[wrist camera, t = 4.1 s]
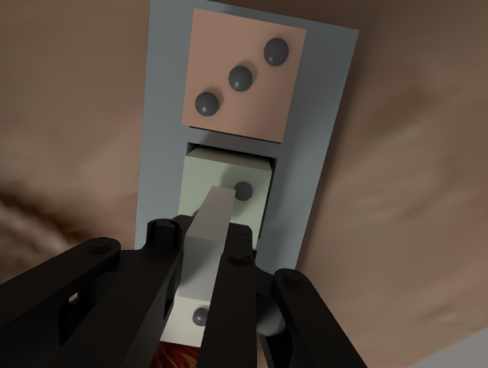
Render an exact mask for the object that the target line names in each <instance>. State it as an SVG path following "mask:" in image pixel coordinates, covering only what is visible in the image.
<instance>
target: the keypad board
mask: <svg viewBox="0 0 488 368" xmlns="http://www.w3.org/2000/svg"><path fill="white" fill-rule="evenodd" d="M194 8H197V9H203V10H208V11H213V12H218V13H223V14H229V15H234V16H239V17H244V18H249V19H254V20H260V21H265V22H270V23H275V24H280V25H285V26H291V27H296V28H301V29H306V30H307V31H306V36H305V40H304V45H303V49H302V54H301V58H300V63H299V67H298V72H297V77H296V81H295V86H294V90H293V95H292V99H291V104H290V108H289V113H288V117H287V122H286V127H285V131H284V136H283V140H282V143H280V142H275V141H269V140H264V139H258V138H253V137H248V136H242V135H237V134H231V133H226V132H221V131H215V130H210V129H204V128H199V127H194V126H188V125H183V124H182V115H183V105H184V96H185V87H186V77H187V68H188V59H189V49H190V40H191V31H192V21H193V12H194ZM359 31H360V30H357V29H352V28H347V27H342V26H337V25H332V24H326V23H321V22H316V21H311V20H306V19H301V18H296V17H290V16H285V15H280V14H275V13H270V12H265V11H259V10H254V9H249V8H244V7H239V6H234V5H229V4H223V3H218V2H213V1H208V0H151V1H150V17H149V32H148V48H147V63H146V79H145V94H144V110H143V125H142V141H141V156H140V172H139V187H138V202H137V218H136V233H135V249H134V250H138V249H141V248H142V247H143V246H144V244H145V243H146V234H147V223H148V222H150V221H151V220H155V219H161V218H167V219H173V218H174V217H176V216H178V212H179V203H180V194H181V186H182V177H183V168H184V159H185V155H187V154H188V153H190V152H191V151H193V150H194V145H195V143H197V144H202V145H208V146H213V147H218V148H224V149H229V150H235V151H240V152H246V153H251V154H257V155H262V156H267V157H273V158H274V159H273V164H272V169H271V170H272V174H271V179H270V184H269V188H268V193H267V198H266V202H265V207H264V211H263V216H262V221H261V225H260V230H259V235H258V239H257V244H256V248H255V249H254V248H253V250H254V253H253V258H254V260H255V265H256V266H257V267H258V268H260V269H261V270H263V271H265V272H267V273H270V274H272V275H274V273H275V271H276V270H278V269H281V268H289V269H294V270H295V266H296V263H297V259H298V255H299V252H300V248H301V244H302V241H303V237H304V233H305V230H306V226H307V222H308V219H309V215H310V211H311V208H312V204H313V200H314V197H315V193H316V189H317V186H318V182H319V178H320V175H321V171H322V167H323V164H324V160H325V156H326V152H327V149H328V145H329V141H330V138H331V134H332V130H333V127H334V123H335V119H336V116H337V112H338V108H339V105H340V101H341V97H342V94H343V90H344V86H345V83H346V79H347V75H348V72H349V68H350V64H351V61H352V57H353V53H354V50H355V46H356V42H357V39H358V35H359Z"/></svg>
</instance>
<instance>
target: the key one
mask: <svg viewBox="0 0 488 368" xmlns="http://www.w3.org/2000/svg"><path fill="white" fill-rule="evenodd" d="M177 295H178V289H177V292H176V294H175V299H174V306H173V309H172V311H171V314H170V316H169V319H168V321H167V324H166V326H165V329H164V331H163V334H162V336H161V339H160V341H165V342H171V343H177V344H183V345H189V346H195V347H200V346H201V342H202V338H203V333H204V329H205V324H206V320H207V315H208V311H209V306H210V302H208V301H202V300H196V299H190V298H185V297H179V296H177Z"/></svg>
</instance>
